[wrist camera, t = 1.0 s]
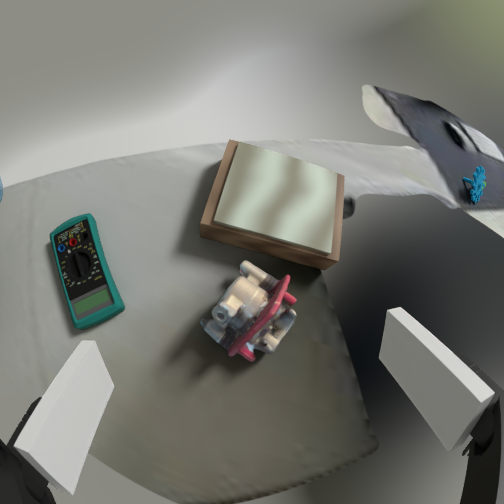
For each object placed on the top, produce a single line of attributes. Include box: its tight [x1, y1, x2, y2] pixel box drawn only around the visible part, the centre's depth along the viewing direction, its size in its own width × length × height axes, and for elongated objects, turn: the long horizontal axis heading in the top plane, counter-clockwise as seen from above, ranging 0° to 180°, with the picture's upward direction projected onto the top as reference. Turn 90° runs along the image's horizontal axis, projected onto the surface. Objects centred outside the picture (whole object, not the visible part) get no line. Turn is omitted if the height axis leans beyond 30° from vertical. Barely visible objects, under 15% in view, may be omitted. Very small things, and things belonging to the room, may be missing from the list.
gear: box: [463, 166, 486, 203], centre depth 53 cm, size 11×6×10 cm
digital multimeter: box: [50, 213, 125, 329], centre depth 31 cm, size 7×15×3 cm, turn 29°
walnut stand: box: [200, 140, 344, 270], centre depth 38 cm, size 18×14×5 cm
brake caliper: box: [200, 260, 296, 362], centre depth 31 cm, size 11×11×12 cm
